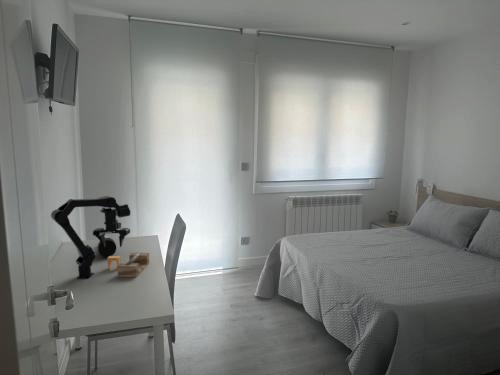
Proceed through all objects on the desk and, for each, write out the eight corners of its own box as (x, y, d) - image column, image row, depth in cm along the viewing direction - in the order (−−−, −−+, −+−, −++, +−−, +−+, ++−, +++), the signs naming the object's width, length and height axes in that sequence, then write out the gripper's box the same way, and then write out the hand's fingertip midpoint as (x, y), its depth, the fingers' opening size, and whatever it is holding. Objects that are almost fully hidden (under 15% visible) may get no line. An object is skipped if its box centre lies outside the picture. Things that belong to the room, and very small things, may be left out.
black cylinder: (109, 248, 244) (115, 234, 245) (112, 259, 213) (119, 243, 214) (94, 244, 240) (100, 230, 241) (95, 254, 209) (102, 237, 210)
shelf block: (136, 276, 183) (135, 264, 182) (118, 276, 183) (117, 264, 182) (149, 262, 203) (148, 251, 202) (132, 262, 203) (131, 251, 202)
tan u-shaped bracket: (121, 267, 197) (120, 256, 196) (118, 269, 194) (118, 258, 193) (110, 267, 197) (109, 256, 196) (108, 269, 194) (107, 258, 193)
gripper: (132, 215, 199) (134, 242, 201) (100, 215, 200) (103, 242, 202) (125, 220, 188) (127, 248, 190) (91, 220, 189) (93, 248, 191)
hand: (112, 246), depth 194 cm, fingers open, 9 cm apart
